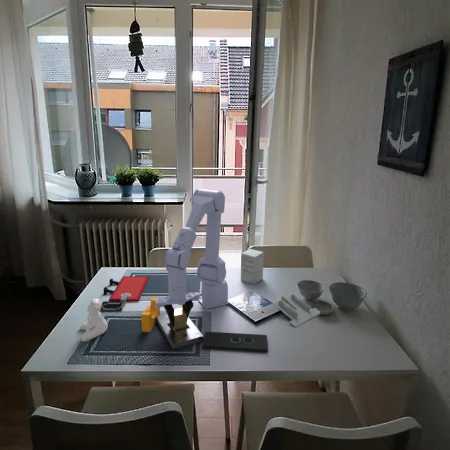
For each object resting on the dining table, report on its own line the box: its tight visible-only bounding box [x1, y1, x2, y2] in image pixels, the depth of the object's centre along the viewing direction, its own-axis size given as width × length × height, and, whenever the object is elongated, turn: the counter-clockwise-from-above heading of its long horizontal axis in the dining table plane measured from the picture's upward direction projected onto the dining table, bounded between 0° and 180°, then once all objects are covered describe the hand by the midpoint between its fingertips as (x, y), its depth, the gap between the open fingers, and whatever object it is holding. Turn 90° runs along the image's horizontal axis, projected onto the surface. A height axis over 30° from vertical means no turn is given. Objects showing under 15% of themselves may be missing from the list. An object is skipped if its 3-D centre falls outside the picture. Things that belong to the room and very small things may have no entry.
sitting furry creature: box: [79, 297, 108, 343], centre depth 120 cm, size 10×9×12 cm
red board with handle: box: [100, 275, 150, 311], centre depth 149 cm, size 30×3×15 cm
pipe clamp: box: [140, 297, 161, 333], centre depth 127 cm, size 12×4×6 cm, turn 173°
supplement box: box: [240, 248, 265, 285], centre depth 162 cm, size 7×7×13 cm
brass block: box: [171, 307, 187, 332], centre depth 122 cm, size 4×4×6 cm
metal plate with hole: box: [155, 313, 204, 350], centre depth 123 cm, size 10×18×2 cm, turn 27°
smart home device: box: [201, 331, 269, 353], centre depth 117 cm, size 8×2×20 cm
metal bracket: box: [273, 294, 321, 328], centre depth 135 cm, size 14×6×15 cm
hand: (178, 322), depth 122 cm, fingers closed on brass block, 4 cm apart
